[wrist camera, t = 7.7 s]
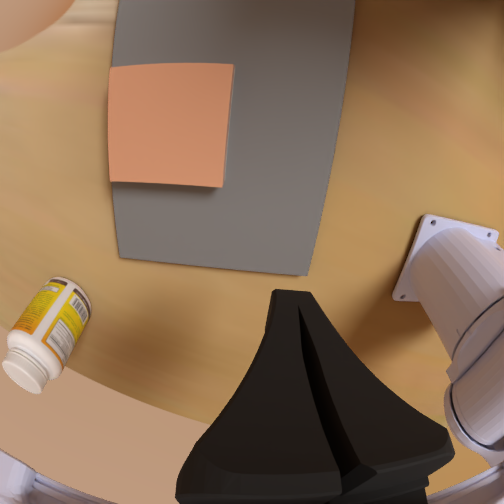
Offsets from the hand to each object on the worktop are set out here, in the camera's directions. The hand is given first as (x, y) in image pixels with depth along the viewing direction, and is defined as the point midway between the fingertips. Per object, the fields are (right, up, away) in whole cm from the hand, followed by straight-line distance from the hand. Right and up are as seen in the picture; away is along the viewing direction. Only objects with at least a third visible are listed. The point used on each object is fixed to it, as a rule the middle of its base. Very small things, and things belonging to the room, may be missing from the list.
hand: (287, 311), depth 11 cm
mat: (-3, +10, +6) cm, 12 cm away
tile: (-3, +9, +5) cm, 11 cm away
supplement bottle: (-19, -2, +14) cm, 24 cm away
